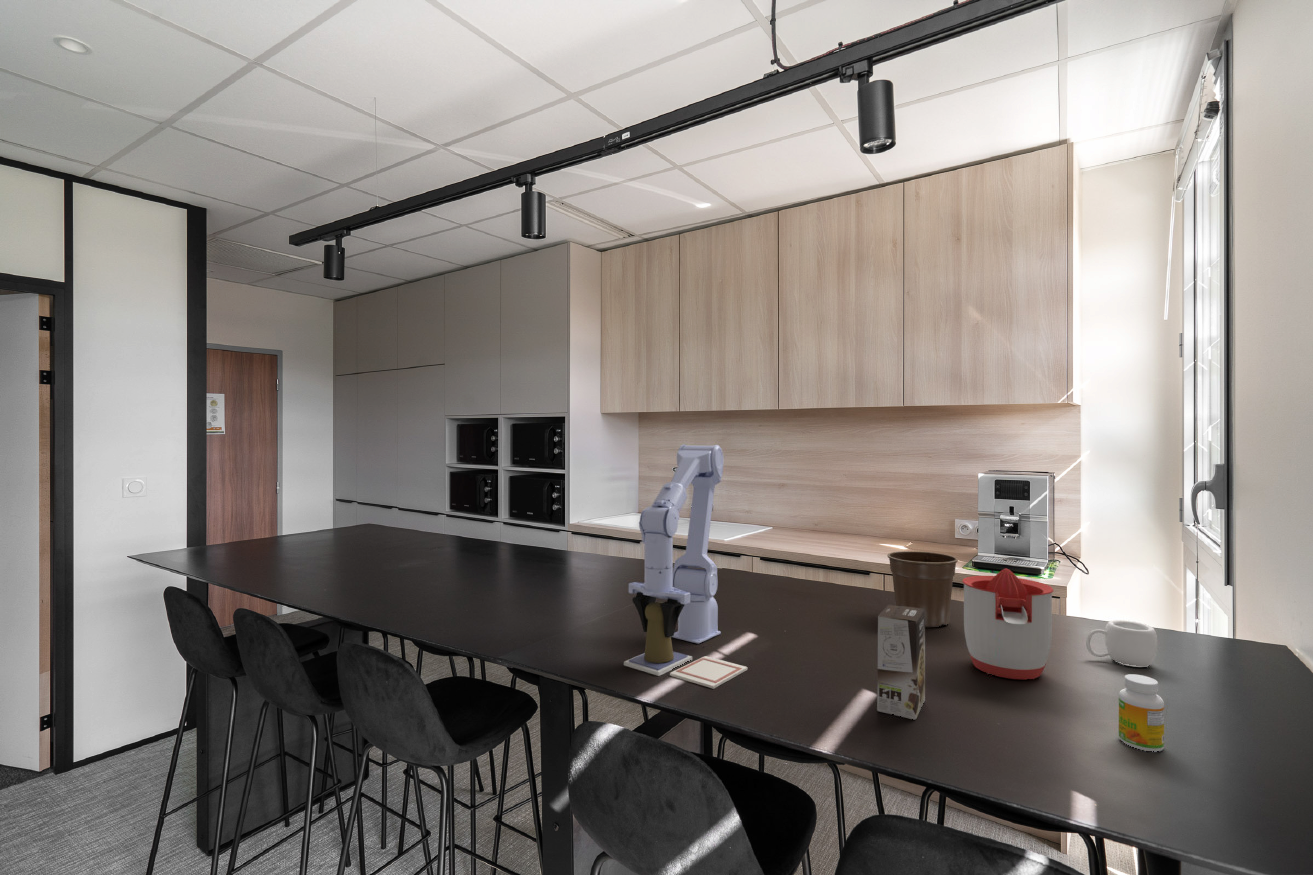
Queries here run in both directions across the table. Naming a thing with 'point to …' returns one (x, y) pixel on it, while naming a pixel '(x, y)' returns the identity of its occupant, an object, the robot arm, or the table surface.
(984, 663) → the citrus juicer
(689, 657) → the ink pad
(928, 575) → the plant pot
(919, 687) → the coffee box
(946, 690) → the table surface
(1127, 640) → the mug
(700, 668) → the marked board
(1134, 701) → the supplement bottle
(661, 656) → the cork
